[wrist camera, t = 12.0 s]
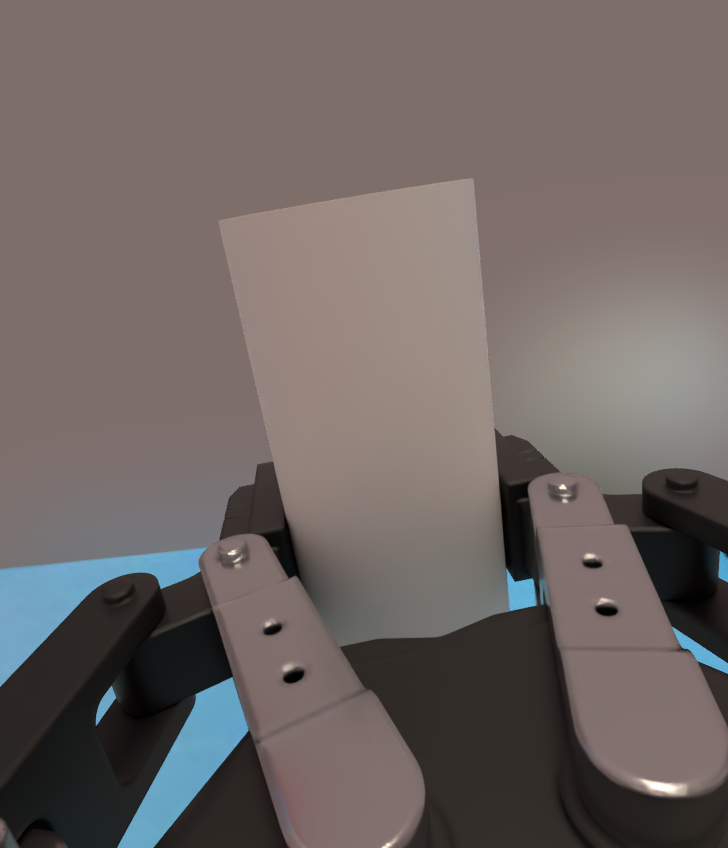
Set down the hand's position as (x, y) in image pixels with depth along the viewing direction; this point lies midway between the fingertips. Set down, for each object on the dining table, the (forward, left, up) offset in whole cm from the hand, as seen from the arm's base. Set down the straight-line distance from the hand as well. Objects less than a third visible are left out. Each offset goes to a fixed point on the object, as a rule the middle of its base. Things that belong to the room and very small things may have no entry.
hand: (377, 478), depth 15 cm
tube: (+2, +2, -9) cm, 9 cm away
